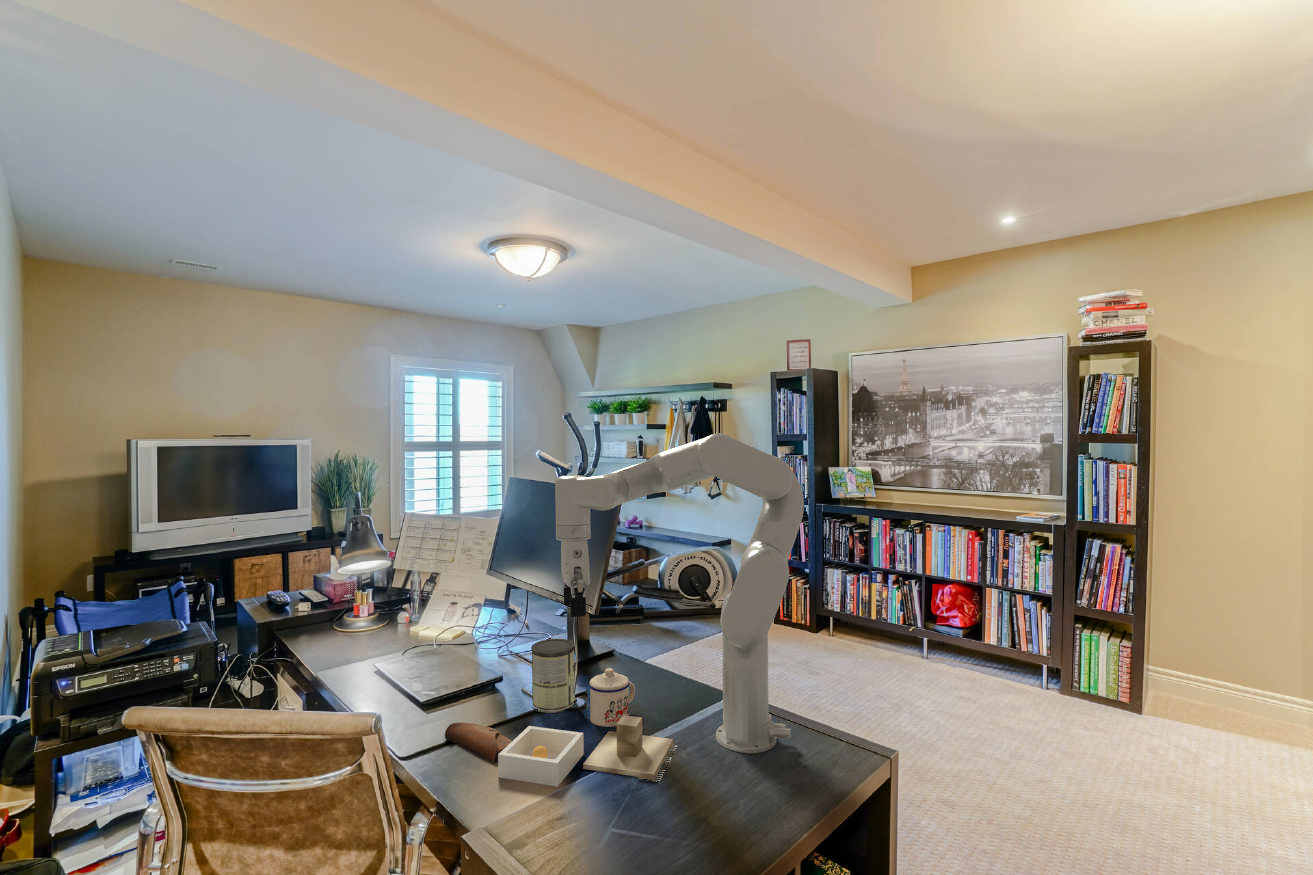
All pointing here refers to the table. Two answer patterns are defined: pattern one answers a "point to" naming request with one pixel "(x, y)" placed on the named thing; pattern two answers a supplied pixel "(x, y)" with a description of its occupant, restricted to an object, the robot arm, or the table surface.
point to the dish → (546, 771)
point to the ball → (540, 752)
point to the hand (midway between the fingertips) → (574, 610)
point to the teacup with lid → (609, 698)
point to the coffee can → (553, 675)
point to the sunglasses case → (478, 739)
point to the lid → (629, 751)
